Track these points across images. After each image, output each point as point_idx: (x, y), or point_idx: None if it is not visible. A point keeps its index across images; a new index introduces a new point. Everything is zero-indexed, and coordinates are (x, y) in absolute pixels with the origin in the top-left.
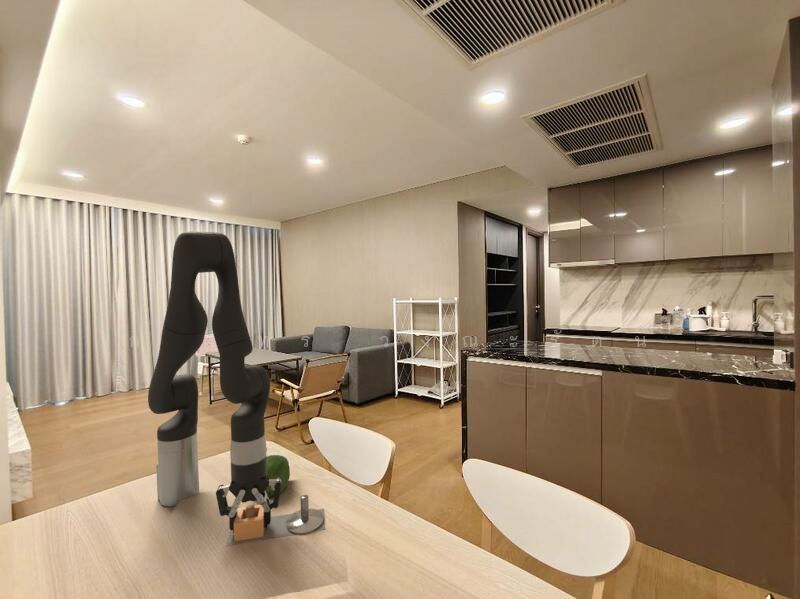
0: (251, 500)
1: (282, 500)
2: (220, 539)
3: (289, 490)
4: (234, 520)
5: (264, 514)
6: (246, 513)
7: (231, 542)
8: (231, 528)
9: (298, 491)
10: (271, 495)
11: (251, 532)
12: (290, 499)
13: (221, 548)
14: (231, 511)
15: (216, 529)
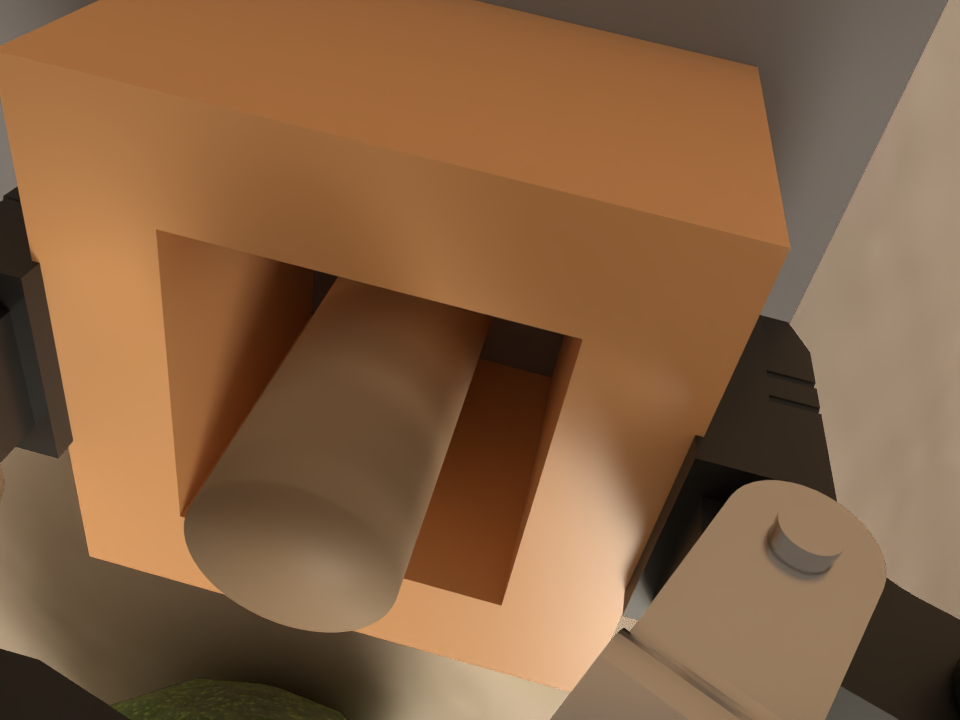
0: (77, 710)
1: (151, 605)
2: (897, 349)
3: (110, 685)
4: (723, 409)
5: (25, 249)
6: (426, 452)
7: (813, 62)
8: (774, 339)
9: (21, 637)
10: (207, 699)
11: (403, 27)
12: (72, 581)
13: (948, 134)
14: (816, 630)
15: (888, 550)
